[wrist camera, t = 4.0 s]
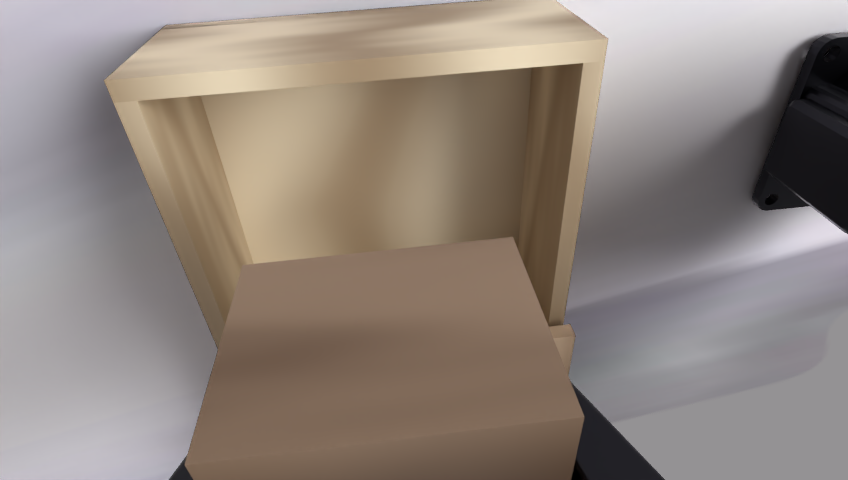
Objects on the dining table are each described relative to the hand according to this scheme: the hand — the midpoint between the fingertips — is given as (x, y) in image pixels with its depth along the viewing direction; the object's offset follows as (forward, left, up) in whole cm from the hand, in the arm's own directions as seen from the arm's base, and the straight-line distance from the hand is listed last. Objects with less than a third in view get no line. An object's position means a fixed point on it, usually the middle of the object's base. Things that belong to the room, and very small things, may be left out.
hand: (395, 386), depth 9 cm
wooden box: (0, +1, -10) cm, 10 cm away
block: (0, 0, -1) cm, 1 cm away
